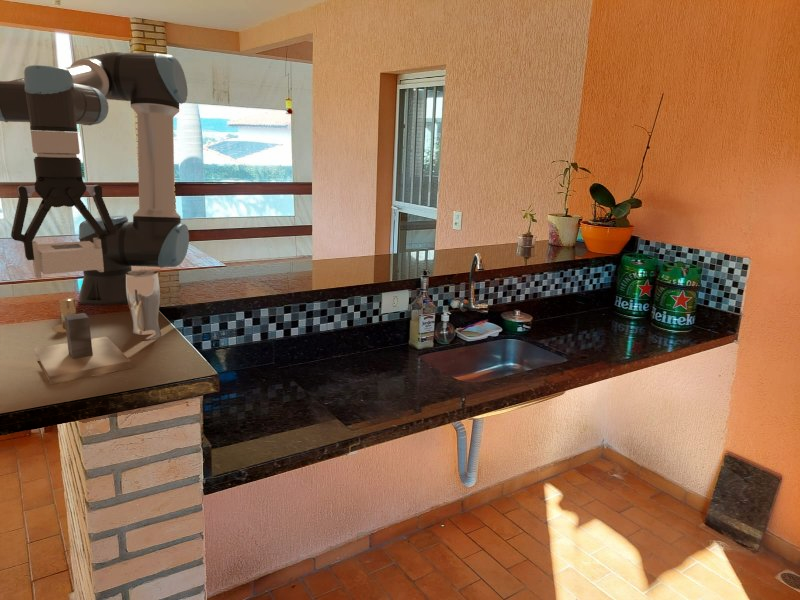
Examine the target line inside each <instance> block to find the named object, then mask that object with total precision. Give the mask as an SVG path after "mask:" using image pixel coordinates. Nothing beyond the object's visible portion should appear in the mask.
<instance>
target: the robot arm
mask: <svg viewBox="0 0 800 600" xmlns="http://www.w3.org/2000/svg"><path fill="white" fill-rule="evenodd" d="M23 73H24V75H23V76H24V77H23V78H17V79H12V80H6V81H3V80H0V122H4V123H9V122H10V123H12V122H13V123H17V122H18V123H29V127H30V128H29V131H30V137H31V144H32V145H31V147H32V153H34V154H36V156H34V158H33V163H34V164H33V165H34V171H35V172H34V173H35V183H34V185H25V186H23V185H20V184H19V185H18V186H17V187H16V190H17V197H18V201H17V204H16V210H15V213H14V219H13V223H12V229H11V233H10V237H11V238H12V239H13V240H14V241H16V242H21V243H23V249H24V255H25V256H24V257H25V258H26V260H27V261H32V265H33V266H32V267H33V272H34V273H33V274H34V277H35V278H36V279H42V272H41V269H40V261H39V253H38V244H39V243H38V242H36V241H34V239H35V237H36V235H37V233H38V232H39V230H40V227H41V226H42V224H43V222H44V220H45V219H46V216H47V215H48V213H49V211H50V210H51V208H60V207H67V208H69V207H70V208H71V207H75V208H76V210H78V212H79V213H80V215H81V216H82V218H83V219H84V220H83V221H82V222H81V223H80V224H79V226H78V241H79V242H82V241H90V242H92V243H94V244H95V245H97V246H99V247H100V248H102V255H103V266H104V269H98V270H88V271H82V273H83V277H82V278H83V279H82V282H81V287H80V290H79V295H78V303H81V304H84V305H88V306H114V305H123V306H126V305H127V306H129V305H128V301H127V295H126V273H127V272H129V271H133V270H132V267H152V268H155V267H156V268H175V267H178V266H180V265H181V264H182V263H183V261H184V260H185V258H186V256H187V253H188V249H189V244H190V233H189V228H188V226H187V225H186V224H185V223H183V222H182V221H181V218H182V217H181V215H180V214H179V213H178V212H177V211H176V210H175V157H174V156H175V155H174V154H175V152H174V151H175V150H174V148H175V147H174V141H175V140H174V118H175V116H176V115H178V114H179V112H180V104H181V105H182V104H185V103H186V102H187V100H188V99H187V97H188V94H189V93H188V85H187V79H186V75H185V72H184V69H183V67H182V64H181V62H180V61H179V60H178V59H177V58H176V57H175V56H173V55H172V54H163V53H158V52H155V53H153V52H152V53H151V52H149V53H147V52H145V53H143V52H123V51H122V52H119V51H118V52H117V51H116V52H115V51H114V52H113V51H112V52H105V53H101V54H97V55H93V56H88V57H85V58H81V59H78V60H75V61H74V62H72V64H71V65H70V66H68V67H61V66H52V65H39V64H38V65H28V66H26V67H25V68H24V70H23ZM108 100H109V101H110V100H111V101H113V100H114V101H123V102H130V108H131V109H132V110H133V111H134V112H135V113H136V117H137V124H136V125H137V160H138V161H137V163H138V164H137V165H138V167H137V168H138V169H137V171H138V205H139V206H138V209H137V210H136V211H135V212H134V214H132V221H129V219H128V217H127V215H112V216H111V215H110V213H109V211H108V208H107V206H106V203H105V200H104V198H103V188H102V185H100V184H93V185H92V184H90V185H89V184H88V185H87V184H85V182H84V180H83V173H82V172H83V171H82V161H81V159H80V157H78V155H80V153H81V152H80V142H79V134H78V125H83V126H90V127H91V126H93V125H98V124H101V123H102V122H104V121H105V119H106V118H107V117H108V114H109V106H110V105H109V103H108ZM34 192H35V193H36V194H37V195H38V196H39V197H40V198H41V199H42V200H41V201H40V203H39V206H38V208H37V209H36V212H35V214H34V216H33V217H32V219H31V222H30V224H29V225H28V226H27V229H26V230H25V233H24V234H22V232H23V228H24V222H25V218H26V214H27V209H28V205H29V199H30V198H32V196H33V194H34ZM85 192H88V195H89V197H90V196H91V197H92V200H93V202H94V204H95V207H96V209H97V211H98V214H99V216H100V217H97V218H95V217H94V216H93V214H92V213H91V212H90V211H89V209H88V208H87V206H86V205H85V203H84V202H83V201H82V199H81V198H82V197H83V196H84V194H85Z"/></svg>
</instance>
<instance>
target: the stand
mask: <svg viewBox="0 0 800 600" xmlns="http://www.w3.org/2000/svg"><path fill="white" fill-rule="evenodd" d="M58 302H59V307H60V309H59V310H60V316H61V324H59V325H55V326H54V327H53V328H52V331H53V332H55V333H66V325H65V317H64V316H66V315H73V314H77V310H76V309H77V308H76V300H75V298H72V297H67V298H62V299H61V298H60V299H59V301H58Z"/></svg>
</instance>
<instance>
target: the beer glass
mask: <svg viewBox="0 0 800 600" xmlns="http://www.w3.org/2000/svg"><path fill="white" fill-rule="evenodd" d="M159 280H160V279H159V273H158V270H154V269H136V270H132V271H129V272H127V273H126V295H127V301H128V305H127V306H128V308H129V311H130V315H131V319H132V334H135V335H139V336H141V335H143V336H145V335H148V336H147V337H145V338H144V339H142V340H141V342H146V341H154V340H157V339H160V337H162V332H161V328H160V325H159V312H160V304H161V287H160V281H159Z"/></svg>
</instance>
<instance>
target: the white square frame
mask: <svg viewBox="0 0 800 600" xmlns="http://www.w3.org/2000/svg"><path fill="white" fill-rule="evenodd" d="M37 244H38V253H39V261H40V269H41V274H43V275H52V274H53V275H55V274H65V273H66V274H67V273H75V272H83V271H88V270H98V269H104V266H103V255H102V248H100V247H99V246H97V245H95V244H94V243H92V242H90V241H82V242H80V241H71V242H70V241H67V242H55V243H54V242H52V243H37Z"/></svg>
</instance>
